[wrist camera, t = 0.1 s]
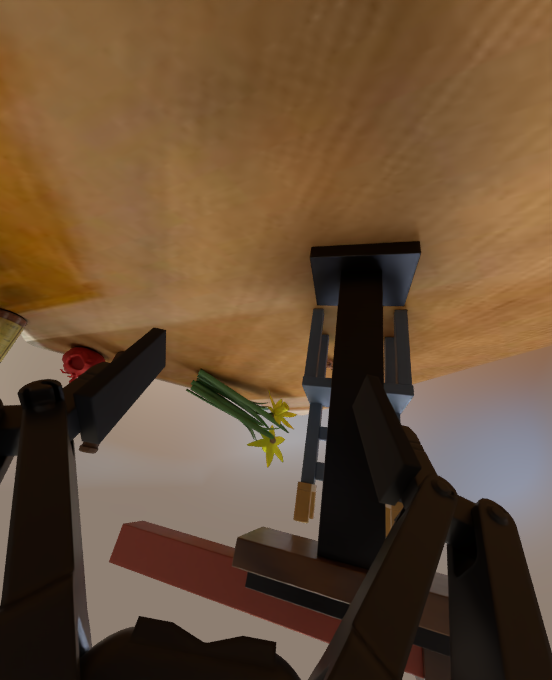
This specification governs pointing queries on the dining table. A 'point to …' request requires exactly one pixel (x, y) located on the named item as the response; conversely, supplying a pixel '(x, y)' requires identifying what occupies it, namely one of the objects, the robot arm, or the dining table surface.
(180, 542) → the hanger bar
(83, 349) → the pomegranate
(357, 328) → the stand
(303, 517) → the chair
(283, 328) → the dining table surface
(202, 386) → the daffodil flowers
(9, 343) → the sauce bottle
